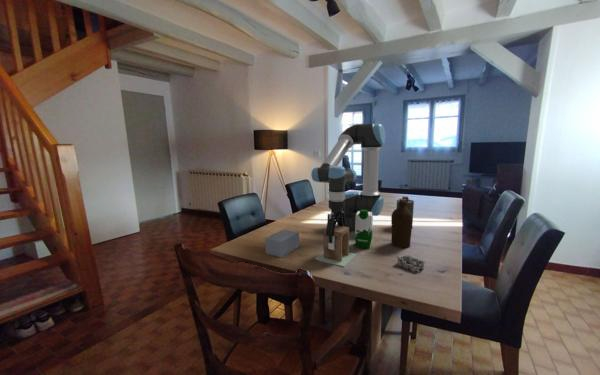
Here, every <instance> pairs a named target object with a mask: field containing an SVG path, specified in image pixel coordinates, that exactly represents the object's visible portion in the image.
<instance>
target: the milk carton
mask: <svg viewBox="0 0 600 375" xmlns="http://www.w3.org/2000/svg"><path fill="white" fill-rule="evenodd" d="M373 220H374V216H372V212H368V210H365V209H362V210H360V211H358V212H357V214H356V220H355V231H354V240H355V248H359V249H367V250H369V249H370V248H371V245H372V244H371V243H372V239H373V228H374V227H373V225H374V224H373V223H374V222H373Z"/></svg>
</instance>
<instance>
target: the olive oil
mask: <svg viewBox="0 0 600 375" xmlns="http://www.w3.org/2000/svg"><path fill="white" fill-rule="evenodd" d="M399 199H400V202H399V207H398V208H397V207H396V208H395V209H394V210H393V211H392V213H391V219H390V220H391V223H390V224H391V240H390V241H391V246H393V247H395V246H396V247H395V248H398V247H401V248H400V249H407V248H406V247H408V248H409V246H411V241H412V240H411V238H412V230H413V228H412V227H413V224H412V223H413V222H414V221H413V220H414V214H413V215H412V213H411V212H410V210H409V209H408V208H407V207H406V199H402V198H399Z"/></svg>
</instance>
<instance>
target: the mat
mask: <svg viewBox="0 0 600 375" xmlns="http://www.w3.org/2000/svg"><path fill="white" fill-rule="evenodd" d="M357 255H358V254H357V253H354V252H349V255H348V256H347V255H342V261H341V262H340V261H336V260H332V259H328V258H324V251H322V253H320V254H319V255H318V256H316V257H315V258H314V260H315V261H318V262H322V263H326V264H329V265H334V266H338V267H342V268H345V267H346V266H347V265H349V263H350V262H351V261H352V260H353V259H355V257H357Z"/></svg>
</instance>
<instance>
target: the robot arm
mask: <svg viewBox="0 0 600 375" xmlns="http://www.w3.org/2000/svg"><path fill="white" fill-rule="evenodd" d="M385 143H386V130H385V127H384V125H383V124H381V123H374V122H373V123H360V124H359V123H357V124H353V125H351V126H349V127H347V128H346V129H345V130H343V131H342V132H341V134H340V135H339V136H338V138H337V142H336V143H335V145H334V147H333V148H332V149H331V151H330V152H329V153H328V155H327V156H326V158H325V160H324V161H323V162H322V164H321V165H320V167H317V166H316V167H314V168H313V169H312V170H311V176H310V177H311V179H312V180H313V182H316V183H326V184H328V193H327V194H328V208H329V209H330V211H331V212H330V213H327V223H326V228H327V229H326V236H328V249H332V250H334V236H333V235H334V231H335V227H336V225H339V226H345V227H349V232H355V220H356V214H357V212H358V211H360V210H362V209H365V210H368V212H372V216H373V217H377V216H379V215H380V214H381V212H382V211H383V206H384V202H385V201H384V200H385V199H384V197H383V196H381V192H380V191H379V165H380V163H379V161H380V160H379V158H380V155H379V153H380V149H382V147H383V145H384V144H385ZM355 145H360V148H361V149H362V150H363V165H362V166H363V168H362V169H363V174H362V176H363V177H362V178H363V180H362V190H361V191H360V193H359V192H358V191H346V186H347V185H350V184H353V183H354V182H355V181H356V180H357V172H356V171H355V169H353V168H349V167H347V168H345V166H339V165H340V164H341V161H342V160H343V158H344V157H345V155H346V154H347V152H348V151H349V149H351V148H352V147H353V146H355Z"/></svg>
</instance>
